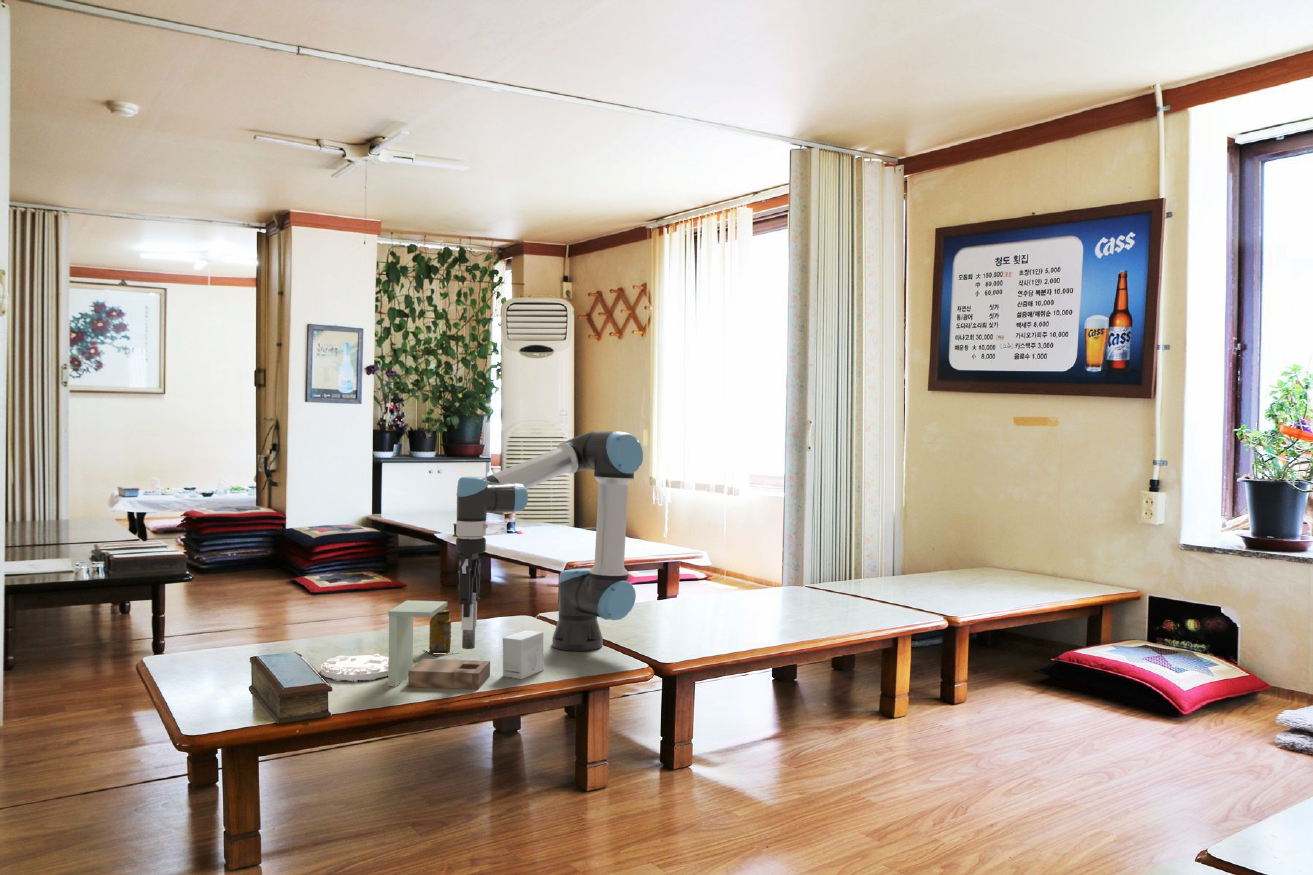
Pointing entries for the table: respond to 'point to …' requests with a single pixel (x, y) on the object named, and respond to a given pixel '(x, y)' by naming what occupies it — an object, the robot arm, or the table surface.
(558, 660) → the table surface
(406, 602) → the pale green angled bracket
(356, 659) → the white round plaque
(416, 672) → the socket block
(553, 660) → the table surface
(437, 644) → the condiment
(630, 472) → the robot arm
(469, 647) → the peg
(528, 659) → the skincare box
